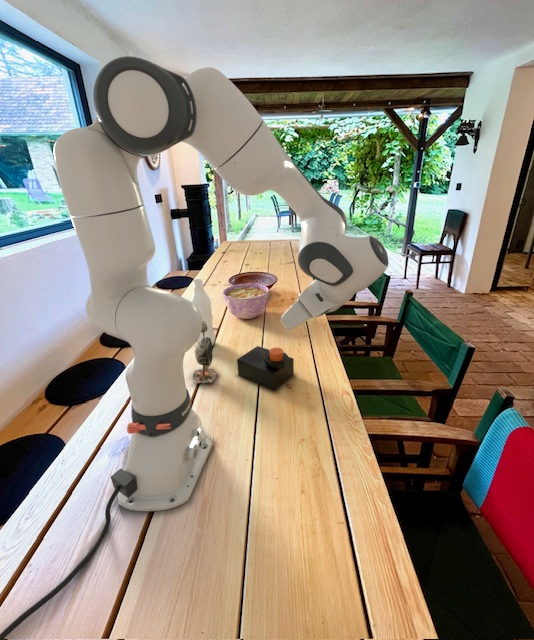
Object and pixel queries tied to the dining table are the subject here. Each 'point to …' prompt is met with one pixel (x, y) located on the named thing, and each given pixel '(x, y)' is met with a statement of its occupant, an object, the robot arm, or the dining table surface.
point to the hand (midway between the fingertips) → (294, 320)
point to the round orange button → (276, 354)
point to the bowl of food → (246, 300)
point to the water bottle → (203, 309)
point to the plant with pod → (204, 360)
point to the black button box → (265, 368)
